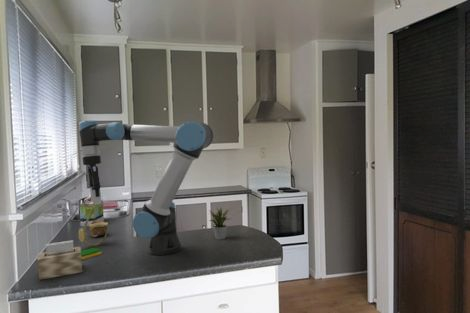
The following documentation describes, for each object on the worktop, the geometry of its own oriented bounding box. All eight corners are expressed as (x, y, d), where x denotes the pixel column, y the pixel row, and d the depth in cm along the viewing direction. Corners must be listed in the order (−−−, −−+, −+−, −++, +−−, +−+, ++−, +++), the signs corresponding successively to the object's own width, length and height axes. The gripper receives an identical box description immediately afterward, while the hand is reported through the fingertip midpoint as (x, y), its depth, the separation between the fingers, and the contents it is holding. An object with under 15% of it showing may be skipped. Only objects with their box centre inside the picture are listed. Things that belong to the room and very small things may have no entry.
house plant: (240, 239, 183) (238, 207, 182) (213, 243, 178) (211, 210, 177) (230, 233, 196) (228, 203, 196) (205, 237, 192) (203, 206, 191)
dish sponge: (102, 254, 173) (101, 249, 173) (74, 263, 162) (73, 257, 162) (94, 252, 177) (93, 247, 177) (66, 260, 167) (65, 255, 167)
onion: (92, 242, 206) (82, 228, 204) (100, 234, 215) (91, 220, 212) (105, 237, 203) (95, 222, 201) (113, 228, 212) (104, 214, 210)
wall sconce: (86, 250, 179) (82, 200, 178) (78, 247, 186) (74, 198, 185) (112, 244, 189) (109, 196, 188) (104, 241, 196) (100, 194, 195)
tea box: (95, 226, 236) (94, 203, 235) (80, 226, 236) (78, 204, 235) (104, 220, 251) (102, 199, 250) (89, 221, 251) (88, 200, 250)
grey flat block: (74, 261, 154) (73, 240, 153) (74, 263, 151) (73, 241, 150) (48, 265, 150) (46, 244, 149) (47, 267, 147) (45, 245, 146)
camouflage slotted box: (81, 264, 158) (80, 246, 158) (82, 271, 148) (80, 252, 148) (41, 271, 152) (39, 252, 151) (39, 279, 142) (37, 259, 142)
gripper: (80, 156, 172) (85, 201, 173) (84, 156, 150) (90, 207, 151) (96, 155, 176) (101, 198, 176) (103, 154, 153) (109, 204, 154)
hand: (96, 202), depth 164 cm, fingers open, 13 cm apart
